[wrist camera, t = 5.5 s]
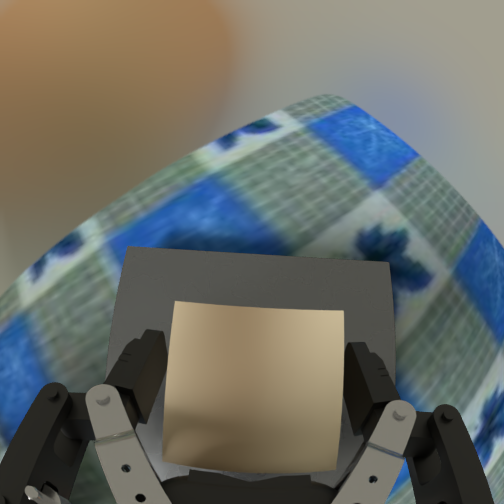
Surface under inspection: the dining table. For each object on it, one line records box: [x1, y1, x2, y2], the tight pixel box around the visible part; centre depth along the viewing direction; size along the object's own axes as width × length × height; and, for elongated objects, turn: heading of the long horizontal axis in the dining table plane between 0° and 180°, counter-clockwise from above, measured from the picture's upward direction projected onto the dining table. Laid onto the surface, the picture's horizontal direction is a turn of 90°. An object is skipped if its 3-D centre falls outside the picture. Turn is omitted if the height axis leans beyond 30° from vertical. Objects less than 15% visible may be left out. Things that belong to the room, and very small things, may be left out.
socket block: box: [105, 246, 396, 488], centre depth 14 cm, size 16×14×2 cm
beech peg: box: [162, 301, 344, 473], centre depth 11 cm, size 5×5×9 cm
